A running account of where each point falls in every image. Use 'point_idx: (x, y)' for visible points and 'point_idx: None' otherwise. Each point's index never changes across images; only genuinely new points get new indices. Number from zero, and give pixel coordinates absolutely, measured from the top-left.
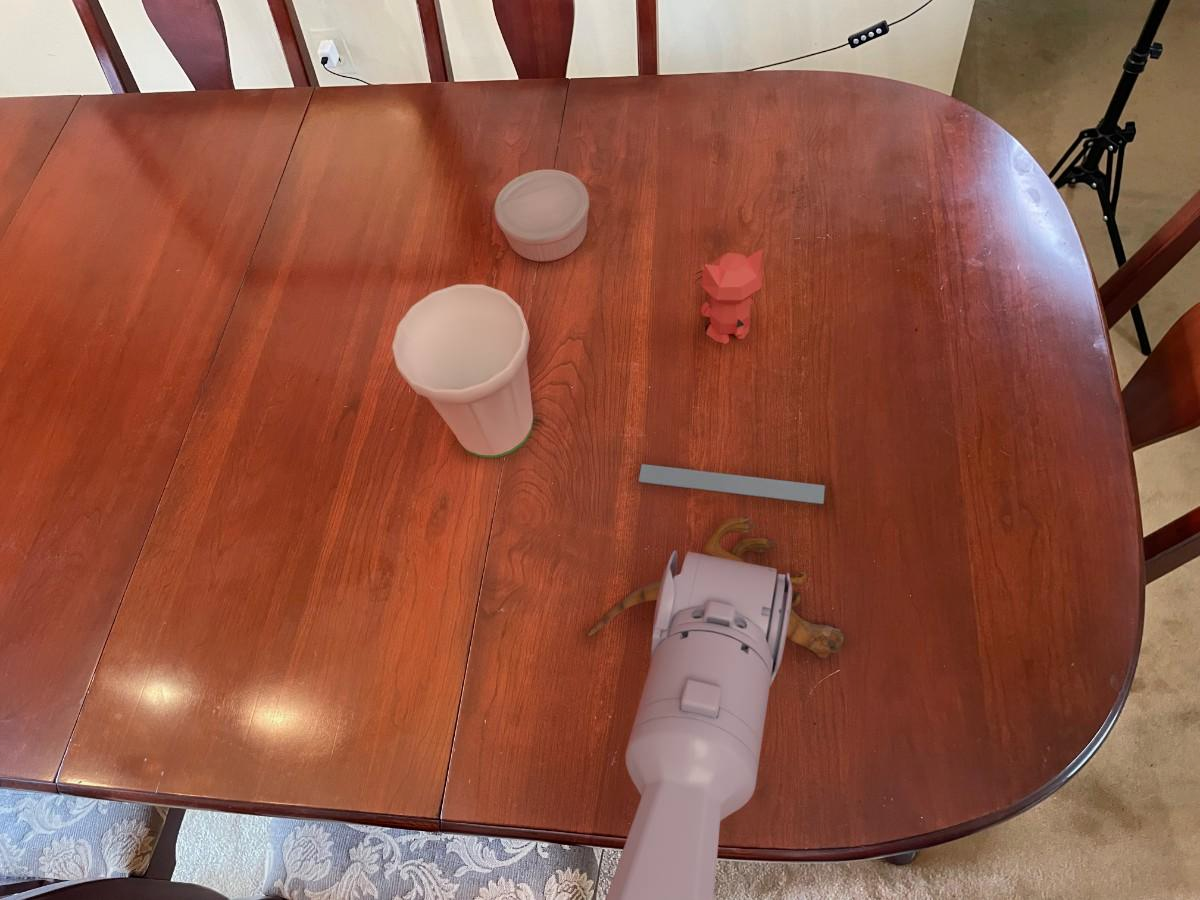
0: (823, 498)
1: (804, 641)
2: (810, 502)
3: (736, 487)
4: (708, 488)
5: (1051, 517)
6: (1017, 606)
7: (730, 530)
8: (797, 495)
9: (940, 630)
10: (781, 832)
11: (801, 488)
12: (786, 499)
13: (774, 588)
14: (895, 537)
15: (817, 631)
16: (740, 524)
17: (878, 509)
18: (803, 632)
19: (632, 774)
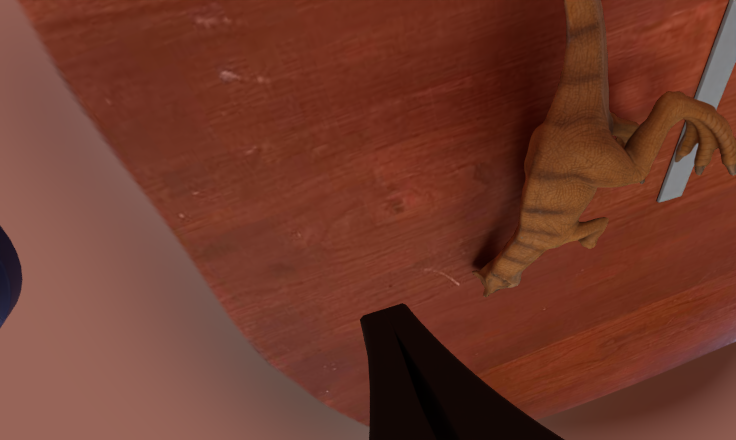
0: (665, 200)
1: (501, 271)
2: (663, 188)
3: (710, 82)
4: (722, 35)
5: (607, 364)
6: (534, 373)
7: (693, 130)
8: (676, 170)
9: (510, 340)
10: (242, 304)
11: (684, 171)
12: (674, 158)
13: (587, 230)
14: (605, 277)
15: (515, 279)
16: (710, 151)
17: (638, 254)
18: (515, 270)
19: None
